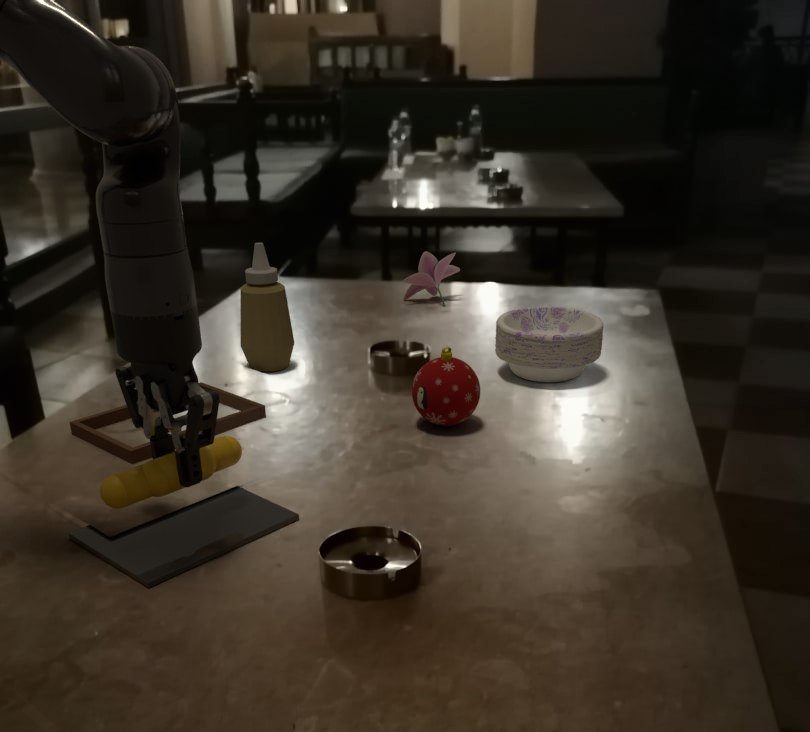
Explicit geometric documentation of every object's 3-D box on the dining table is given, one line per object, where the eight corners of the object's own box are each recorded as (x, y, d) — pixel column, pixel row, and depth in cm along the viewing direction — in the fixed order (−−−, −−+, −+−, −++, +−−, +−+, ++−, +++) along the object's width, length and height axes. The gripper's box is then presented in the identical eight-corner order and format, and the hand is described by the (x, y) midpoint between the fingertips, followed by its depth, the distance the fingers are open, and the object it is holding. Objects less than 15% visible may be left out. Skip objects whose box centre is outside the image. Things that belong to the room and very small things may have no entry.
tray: (133, 471, 104) (130, 451, 103) (72, 440, 112) (69, 421, 111) (266, 423, 116) (265, 405, 115) (203, 399, 124) (201, 382, 123)
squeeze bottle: (299, 358, 140) (291, 237, 131) (292, 375, 133) (283, 249, 124) (247, 358, 140) (236, 238, 132) (237, 375, 133) (224, 249, 125)
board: (148, 588, 81) (147, 582, 81) (69, 538, 90) (68, 533, 90) (299, 519, 93) (299, 514, 93) (216, 480, 101) (216, 475, 101)
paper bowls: (518, 395, 125) (521, 338, 121) (479, 362, 137) (480, 310, 133) (618, 383, 128) (624, 328, 124) (570, 353, 141) (575, 302, 137)
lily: (470, 301, 173) (452, 253, 172) (475, 291, 162) (457, 239, 161) (411, 323, 174) (393, 275, 173) (412, 314, 162) (393, 263, 161)
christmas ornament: (493, 425, 115) (496, 348, 110) (440, 441, 110) (441, 362, 106) (449, 406, 121) (451, 333, 116) (398, 421, 116) (397, 345, 112)
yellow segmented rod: (121, 516, 82) (108, 478, 81) (101, 514, 85) (88, 478, 84) (257, 462, 92) (247, 428, 91) (234, 463, 95) (225, 430, 94)
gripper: (73, 297, 82) (106, 470, 90) (163, 325, 74) (189, 513, 82) (145, 282, 87) (169, 448, 95) (236, 306, 78) (254, 486, 87)
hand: (178, 477), depth 89 cm, fingers closed on yellow segmented rod, 3 cm apart
